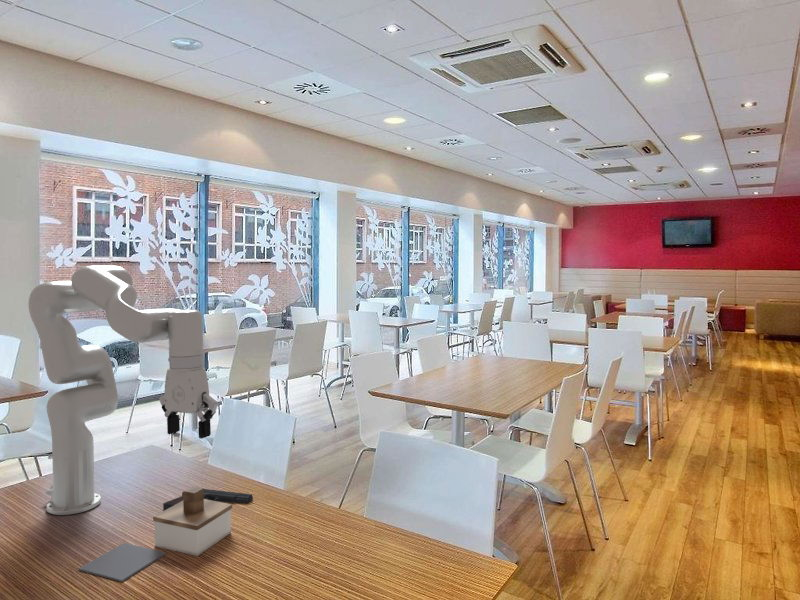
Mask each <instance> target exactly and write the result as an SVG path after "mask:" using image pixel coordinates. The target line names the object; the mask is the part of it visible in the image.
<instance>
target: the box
mask: <svg viewBox="0 0 800 600" xmlns="http://www.w3.org/2000/svg"><path fill="white" fill-rule="evenodd" d="M231 533H232V509H230V510H229V511H227V512H226V513H224V514H222V515H221V516H219V517H218V518H216V519H215V520H213V521H211V522H210V523H208V524H207V525H205V526H203V527H202V528H200V529H199V530H193V529H188V528H184V527H179V526H174V525H170V524H165V523H161V522H156V521H154V547H158V548H162V549H165V550H170V551H174V552H179V553H182V554H186V555H191V556H195V557H198V556H199V555H201V554H203V553H205V551H207V550H208V549H210V548H211V547H213V546H214V545H215V544H217V543H219V542H220V541H221V540H222V539H224V538H226V537H227V536H228V535H230V534H231Z"/></svg>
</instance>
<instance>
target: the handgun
mask: <svg viewBox="0 0 800 600" xmlns="http://www.w3.org/2000/svg"><path fill="white" fill-rule="evenodd" d="M204 499H207V500H212V501H217V502H222V503H231V504H233V503H238V504H249V503H250V502H251V501H253V499H254V496H253V494H251V493H244V492H234V491H226V490H216V489H208V488H204ZM181 501H183V491H182V492H181V496H179V497H175V498H173V499H171V500H169V501H166V502H163V504H162V505H163V511H165V510H166V509H168V508H170V507H172V506H174V505H176V504H178V503H179V502H181Z"/></svg>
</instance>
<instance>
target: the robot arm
mask: <svg viewBox="0 0 800 600" xmlns="http://www.w3.org/2000/svg"><path fill="white" fill-rule="evenodd" d="M133 284H134V283H133V277H132V275H131V274H130V272H129V271H128V270H126V269H125V268H123V267H122V266H120V265H119V266H118V265H86V266H82V267H80V268H79V269H77V270H75V271H74V273H73V274H72V276H71V278H70V280H57V281H56V280H55V281H47V282H46V281H45V282H43V283H39V284H38V285H36V286H35V287H34V288H33V289H32V291H31V292H30V294H29V296H28V298H29V299H28V313H29V316H30V319H31V321H32V323H33V326H34V327H35V330H36V332H37V334H38V335H37V336H38V338H39V341H40V342H39V343H40V349H41V354H42V358H43V363H44V368H45V372H46V375H47V378H48V380H49V381H50V382H51V383H52V384H55V385H66V384H73V383H77V382H83V381H86V384H85V385H80V386H74V387H70V388H66V389H62V390H60V391H57V392H55V393H54V394H52V395H51V396H50V398H48V400H47V404H46V413H47V418H48V422H49V426H50V433H51V449H52V451H51V452H52V453H51V454H52V457H51V458H52V485H51V486H50V488H49V489H47V490H46V491H45V495H47V496H50V497H51V500H50V501H49V502H48V503H47V504H46V512H47V513H48V514H51V515H55V516H68V515H75V514H79V513H83V512H84V513H85V512H87V511H89V510H90V511H91V510H92V509H94V508H96V507H97V506H99V505H100V503H101V502H102V497H101V494H98V493H96V492H95V452H94V451H95V449H94V445H95V444H94V436H93V434H92V431H91V430H90V429H89V428H88V427H87V426H86V422H90V421H92V420H96V419H101V418H103V417H107V416H110V415H112V414H113V413H114V412H115V411H116V410H117V407H118V404H119V394H118V389H117V384H116V383H117V382H116V379H115V374H114V370H113V364H112V361H111V357H110V355H109V353H108V351H107V349H105V348H104V347H102V346H100V345H98V344H87V345H80V343H79V340H78V335H77V330H76V328H75V327H74V326H73V324H72V323H71V322H70V320H69V319H68V318H66V317H65V316H64V315H63V314H69V313H70V314H71V313H73V314H74V313H82V312H83V313H86V312H88V313H89V312H94V311H99V310H102V311H105V316H106V317H105V318H106V321H107V323H108V325H109V327H110V328H111V329H112V331H114V332H116V333H117V334H118V335H120V336H122V337H123V338H125V339H127V340H128V341H131V342H134V343H139V344H144V343H151V342H158V341H166V340H168V359H167V361H168V362H169V363H168V365H169V368H167V370H166V374H165V381H164V394H162V395H160V396H159V397H158V400H159V403H160V405H161V409H162V411H163V412H164V416H165V418H166V423H167V424H166V426H167V428H166V429H167V434H168V435H172V434H175V433H178V432H180V429H181V428H180V422H181V421H180V414H178V413H182V414H183V413H184V414H196V415H197V418H198V419H199V421H198V423H197V425H198V427H197V428H198V431H197V432H198V438H199V439H205V438H207V437H211V433H212V432H211V420H212V419H213V416H214V415H215V414H216V413H217V412H216V410H217V408H218V406H219V402H218V401H217V400H216V399H214V398H213V397H212V396H211V395H210V388H209V380H208V375H207V371H206V368H205V366H204V365H205V364H204V363H205V362H204V361H205V360H204V359H205V358H204V334H203V333H204V332H203V315H202V314H203V313H202V312H201V311H199V310H197V309H177V308H172V307H171V308H152V309H141V310H140V309H137V308H135V307H134V306H135V305H136V303H137V298H138V295H137V290H136V289H135V288H134V287H133Z"/></svg>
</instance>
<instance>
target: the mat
mask: <svg viewBox="0 0 800 600" xmlns="http://www.w3.org/2000/svg"><path fill="white" fill-rule="evenodd" d="M165 555H167V554H166V552H165V551H160V550H157V549H151V548H147V547H143V546H141V545H140V546H139V545H136V544H132V543H127V542H123V543H121V544H120V545H117V546H116V547H114V548H113V549H110V550H109V551H107V552H105V553H103V554H102V555H99V556H98V557H97V558H94V559H93V560H91V561H89V562H87V563H85V564H83V565H81V567H79V568H78V571H81V572H84V573H88V574H92V575H93V576H94V575H95V576H98V577H102V578H106V579H110V580H114V581H118V582H121V583H123V582H125V581H126V580H127V579H129V578H131V577H132V576H134V575H135V574H137V573H139V572H140V571H142V570H144V569H145V568H146V567H149V566H150V565H151V564H153V563H155V562H156V561H158V560H160V559H161V558H162V557H164V556H165Z"/></svg>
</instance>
